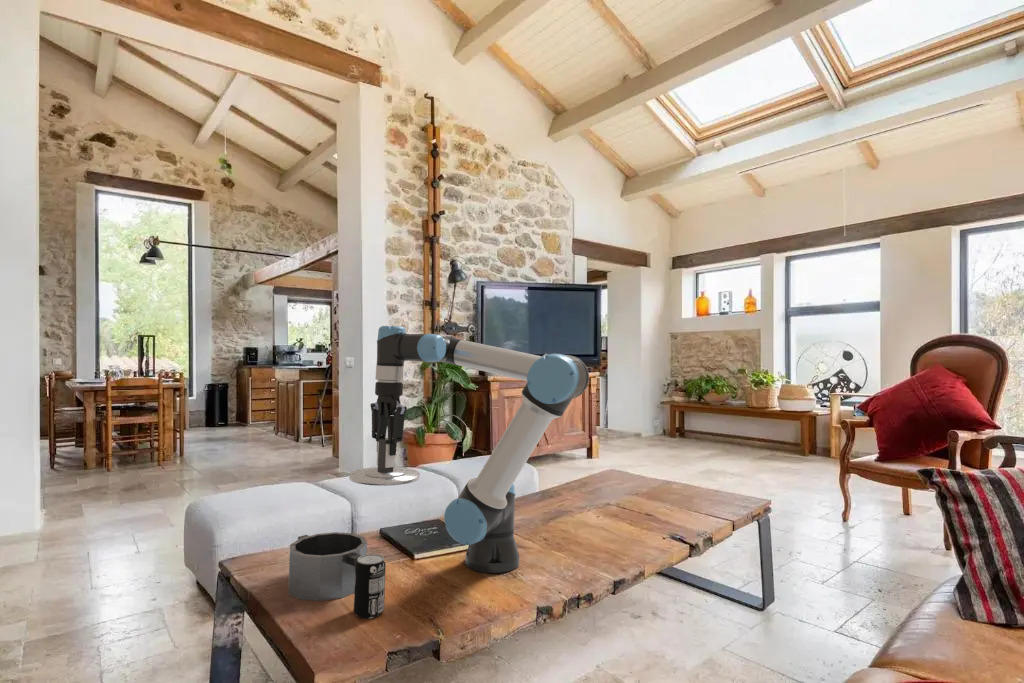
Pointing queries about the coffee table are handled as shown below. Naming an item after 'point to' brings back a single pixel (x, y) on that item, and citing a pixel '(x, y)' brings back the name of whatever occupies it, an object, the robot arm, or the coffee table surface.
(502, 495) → the robot arm
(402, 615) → the coffee table surface
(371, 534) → the coffee table surface
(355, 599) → the beverage can
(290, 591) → the pot
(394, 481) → the lid
